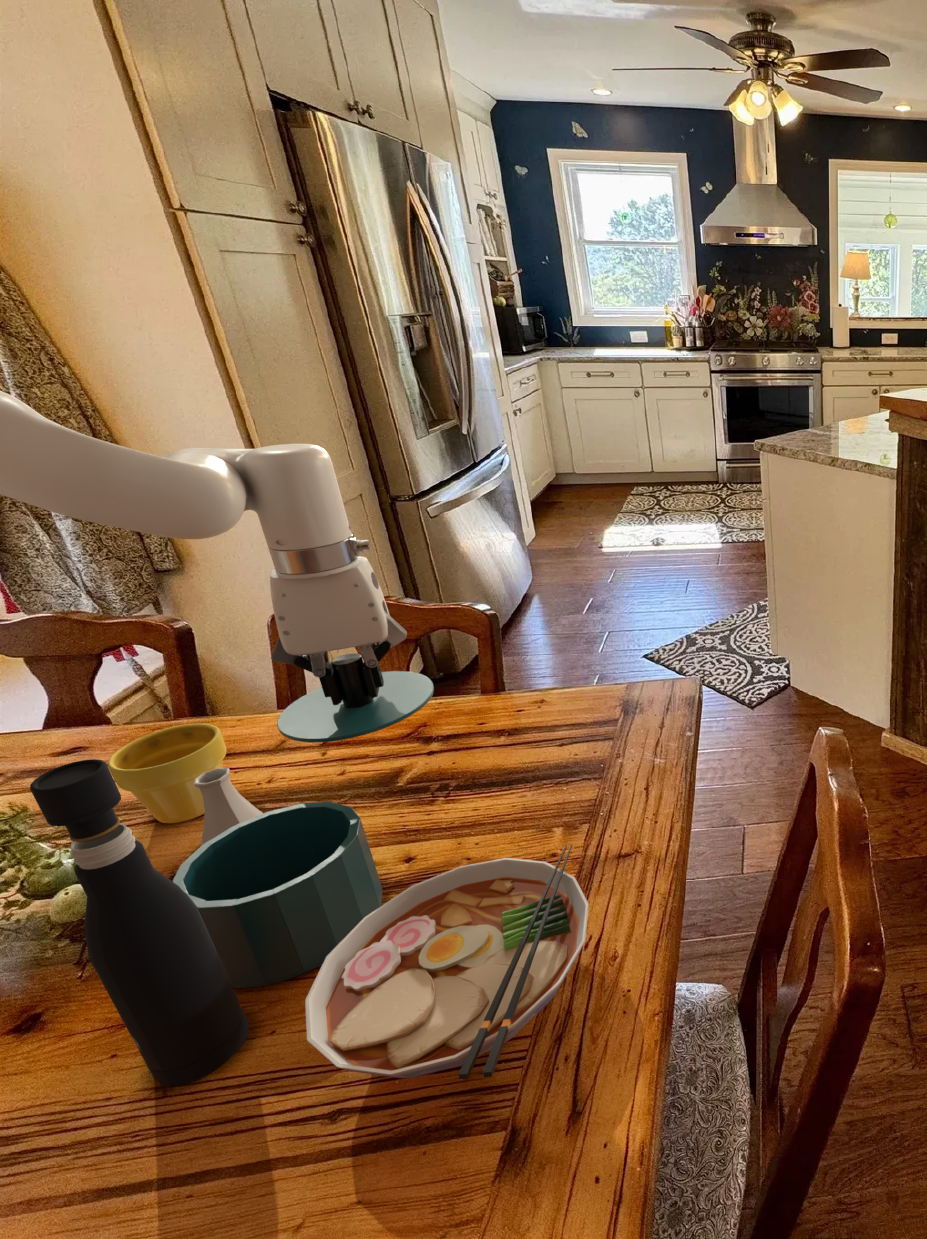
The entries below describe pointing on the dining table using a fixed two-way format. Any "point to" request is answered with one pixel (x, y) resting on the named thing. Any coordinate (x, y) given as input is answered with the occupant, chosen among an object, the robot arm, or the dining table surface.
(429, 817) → the dining table surface
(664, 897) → the dining table surface
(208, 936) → the dark water bottle
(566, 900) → the ramen bowl
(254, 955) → the pot
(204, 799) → the flask
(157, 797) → the flower pot
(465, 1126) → the dining table surface
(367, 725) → the lid
